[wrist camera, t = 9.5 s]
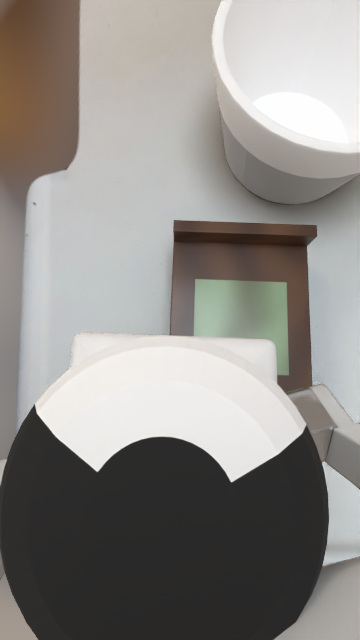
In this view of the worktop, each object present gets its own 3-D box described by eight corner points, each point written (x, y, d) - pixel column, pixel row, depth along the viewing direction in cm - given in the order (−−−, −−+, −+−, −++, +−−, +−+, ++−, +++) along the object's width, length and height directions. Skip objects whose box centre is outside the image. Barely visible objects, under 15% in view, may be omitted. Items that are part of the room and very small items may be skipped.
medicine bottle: (237, 485, 16) (410, 819, 4) (104, 480, 16) (-114, 797, 4) (238, 352, 17) (370, 307, 5) (114, 347, 17) (-29, 292, 5)
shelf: (168, 397, 28) (165, 404, 22) (174, 249, 31) (173, 219, 25) (294, 402, 28) (325, 410, 22) (290, 253, 31) (316, 225, 25)
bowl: (184, 206, 32) (186, 123, 21) (219, 60, 35) (237, -76, 24) (363, 244, 31) (459, 177, 20) (382, 91, 34) (474, -35, 24)
